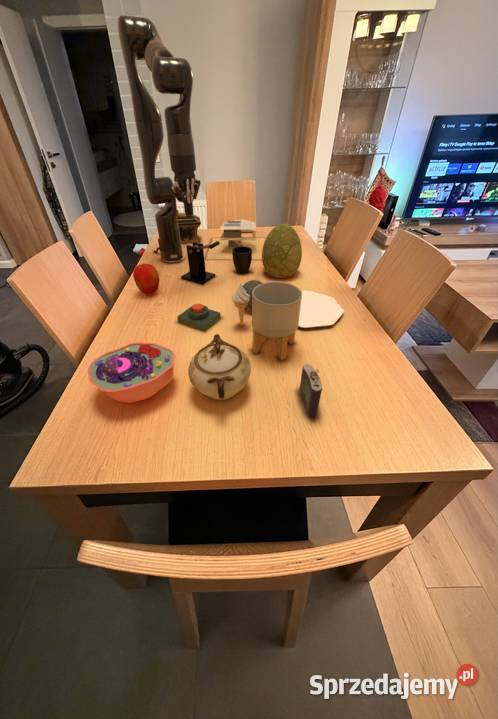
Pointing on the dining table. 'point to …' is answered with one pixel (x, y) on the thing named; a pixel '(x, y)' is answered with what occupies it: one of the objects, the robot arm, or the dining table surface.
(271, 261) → the decorative sculpture
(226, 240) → the house model
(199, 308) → the button
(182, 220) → the decorative box
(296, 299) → the planter
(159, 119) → the robot arm
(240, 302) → the ice cream cone
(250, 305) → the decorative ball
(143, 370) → the cell model
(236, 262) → the mug
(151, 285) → the red mango
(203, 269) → the bracket
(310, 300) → the plate
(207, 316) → the button housing
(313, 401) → the flask
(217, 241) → the lever
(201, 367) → the sugar bowl
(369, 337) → the dining table surface
